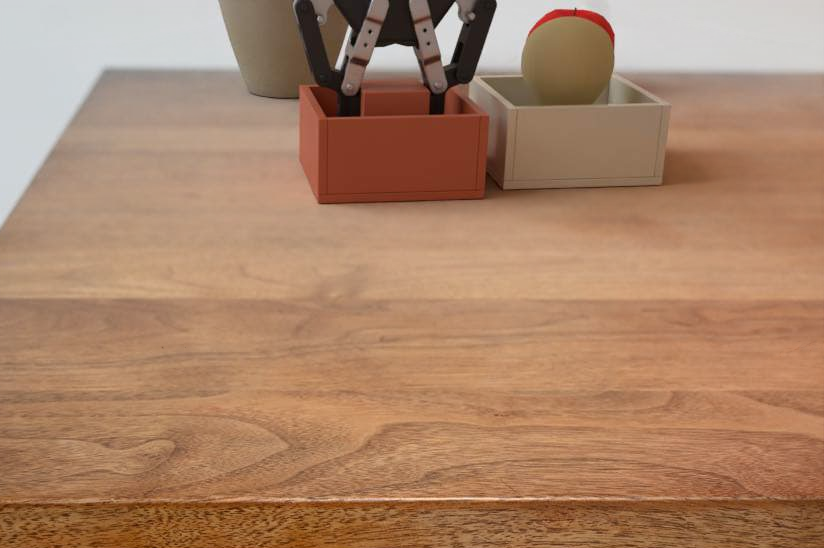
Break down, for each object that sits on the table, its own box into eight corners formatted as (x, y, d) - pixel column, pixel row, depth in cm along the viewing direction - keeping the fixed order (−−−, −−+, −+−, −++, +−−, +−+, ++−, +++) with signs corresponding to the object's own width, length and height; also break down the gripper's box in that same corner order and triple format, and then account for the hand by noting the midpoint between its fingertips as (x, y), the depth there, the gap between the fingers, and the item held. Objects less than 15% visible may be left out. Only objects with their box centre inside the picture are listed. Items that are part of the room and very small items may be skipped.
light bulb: (496, 158, 91) (505, 16, 87) (549, 143, 95) (560, 7, 91) (569, 174, 87) (583, 27, 83) (621, 158, 91) (637, 17, 87)
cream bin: (607, 145, 97) (615, 72, 95) (661, 185, 87) (671, 104, 84) (465, 149, 96) (469, 75, 94) (503, 189, 86) (508, 108, 83)
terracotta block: (414, 141, 90) (417, 78, 88) (427, 157, 86) (430, 91, 84) (352, 143, 89) (353, 79, 88) (362, 158, 85) (363, 92, 83)
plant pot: (184, 82, 120) (178, -96, 113) (326, 70, 125) (328, -100, 119) (240, 113, 107) (237, -84, 101) (395, 99, 113) (401, -89, 106)
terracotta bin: (447, 156, 94) (451, 81, 92) (484, 198, 84) (489, 115, 81) (299, 160, 93) (299, 84, 91) (317, 203, 83) (318, 119, 80)
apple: (507, 89, 116) (513, 7, 113) (550, 77, 122) (556, -2, 119) (585, 101, 112) (593, 16, 109) (626, 88, 117) (634, 6, 114)
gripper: (292, -112, 77) (293, 163, 83) (521, -114, 78) (503, 157, 85) (281, -118, 83) (282, 136, 90) (491, -120, 85) (477, 131, 91)
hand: (389, 145), depth 87 cm, fingers closed on terracotta block, 4 cm apart
